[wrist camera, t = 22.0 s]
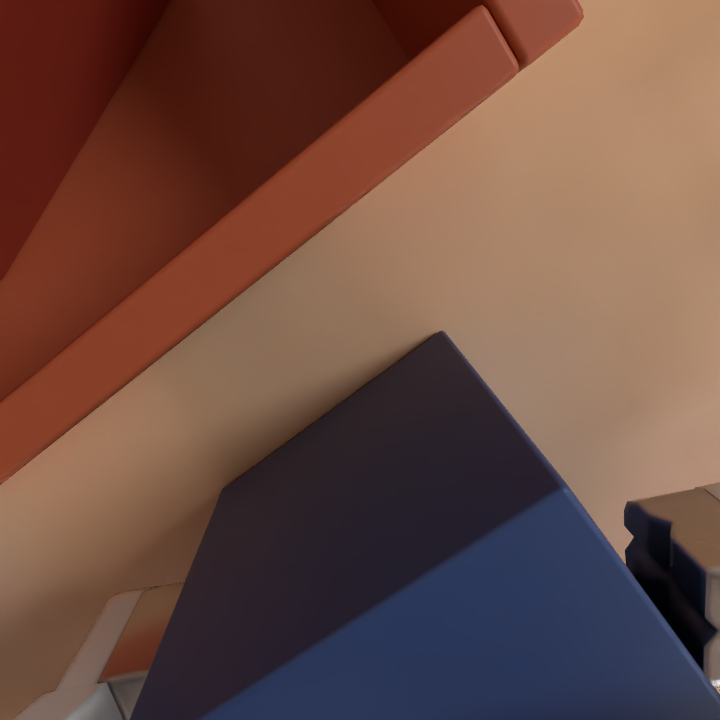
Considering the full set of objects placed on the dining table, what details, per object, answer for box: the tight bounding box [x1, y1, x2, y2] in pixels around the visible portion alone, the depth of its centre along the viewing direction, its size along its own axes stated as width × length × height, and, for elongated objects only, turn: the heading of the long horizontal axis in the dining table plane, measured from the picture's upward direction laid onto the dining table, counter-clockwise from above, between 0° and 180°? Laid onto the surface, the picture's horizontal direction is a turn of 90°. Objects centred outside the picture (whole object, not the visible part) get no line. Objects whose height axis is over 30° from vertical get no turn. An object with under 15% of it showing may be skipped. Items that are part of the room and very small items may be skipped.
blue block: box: [129, 331, 720, 720], centre depth 7 cm, size 5×5×5 cm
